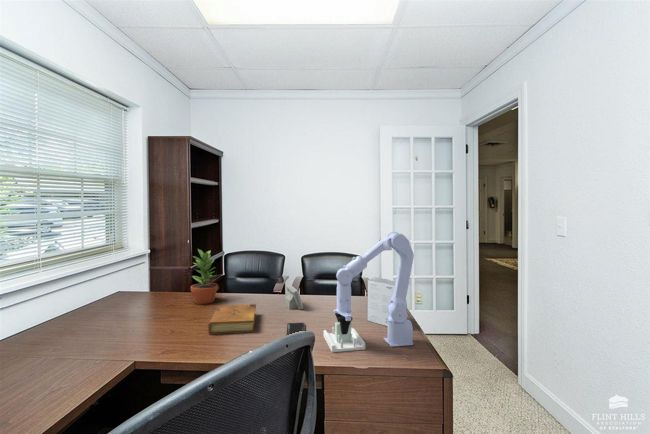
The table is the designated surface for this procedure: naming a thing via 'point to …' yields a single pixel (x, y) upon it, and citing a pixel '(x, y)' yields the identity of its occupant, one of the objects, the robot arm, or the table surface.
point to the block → (338, 332)
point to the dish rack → (344, 342)
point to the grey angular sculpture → (293, 298)
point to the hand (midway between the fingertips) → (343, 332)
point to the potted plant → (204, 280)
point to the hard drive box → (379, 299)
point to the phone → (295, 327)
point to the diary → (233, 319)
